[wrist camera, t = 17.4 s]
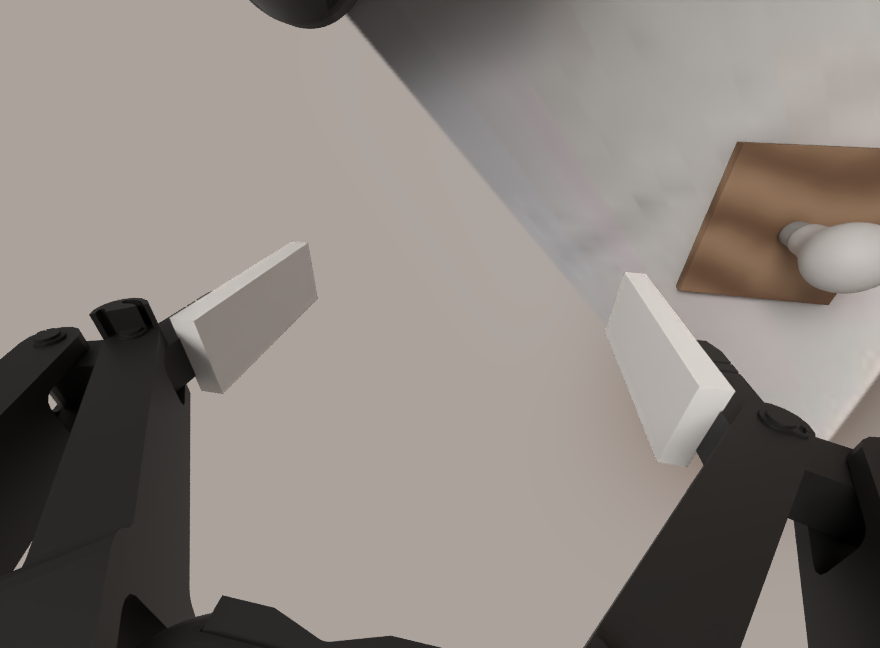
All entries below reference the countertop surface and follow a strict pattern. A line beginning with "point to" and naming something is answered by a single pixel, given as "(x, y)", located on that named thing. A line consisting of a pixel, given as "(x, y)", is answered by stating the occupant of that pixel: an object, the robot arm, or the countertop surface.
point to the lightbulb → (836, 254)
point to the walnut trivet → (778, 217)
